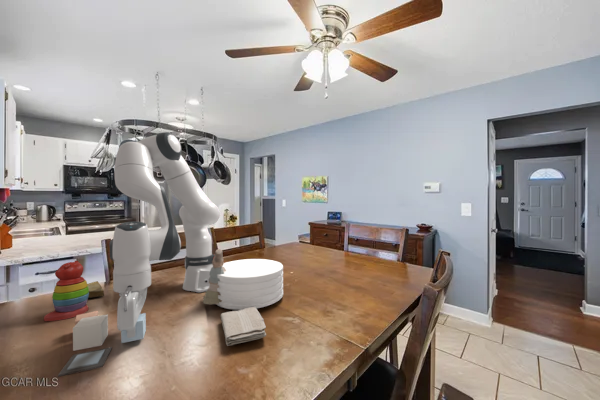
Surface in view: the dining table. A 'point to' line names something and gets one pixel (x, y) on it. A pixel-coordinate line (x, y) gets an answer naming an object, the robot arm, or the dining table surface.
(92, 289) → the rock
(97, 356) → the tile
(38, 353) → the dining table surface
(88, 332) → the cream block
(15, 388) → the dining table surface
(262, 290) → the plate stack
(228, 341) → the washcloth
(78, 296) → the stacking bear
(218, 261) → the figurine
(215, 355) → the dining table surface
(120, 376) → the dining table surface
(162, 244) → the robot arm
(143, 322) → the pale blue block
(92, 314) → the terracotta block
